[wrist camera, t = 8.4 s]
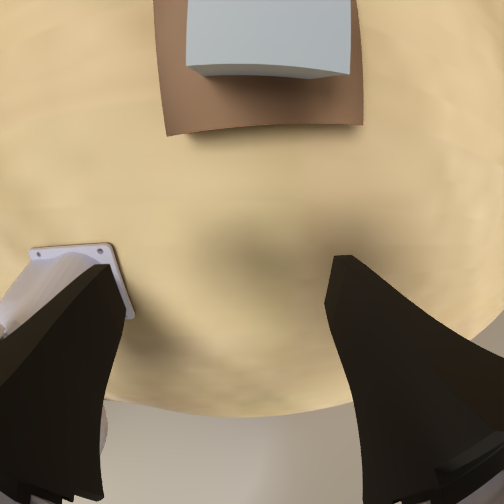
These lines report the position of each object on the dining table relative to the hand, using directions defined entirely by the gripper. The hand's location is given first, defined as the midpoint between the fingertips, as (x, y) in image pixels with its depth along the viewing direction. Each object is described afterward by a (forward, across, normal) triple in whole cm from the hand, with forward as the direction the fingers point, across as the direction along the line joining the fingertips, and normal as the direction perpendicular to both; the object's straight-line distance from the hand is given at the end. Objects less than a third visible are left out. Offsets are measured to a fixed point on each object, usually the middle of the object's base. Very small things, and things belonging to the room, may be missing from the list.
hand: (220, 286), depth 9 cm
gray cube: (+7, -2, -9) cm, 11 cm away
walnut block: (+11, -2, -9) cm, 14 cm away
